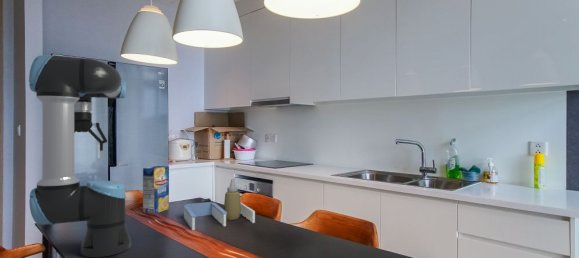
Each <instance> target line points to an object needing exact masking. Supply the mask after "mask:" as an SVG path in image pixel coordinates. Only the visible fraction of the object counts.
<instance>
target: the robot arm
mask: <svg viewBox="0 0 579 258" xmlns="http://www.w3.org/2000/svg"><path fill="white" fill-rule="evenodd" d="M28 74H29V75H28V84H29V89H30V91H31V92H34V93H36V95H35V96H36V98H37V100H39V101H40V102H41V104H42V105H41V107H42V108H41V109H42V111H41V112H42V114H41V116H42V119H41V120H42V121H41V122H42V123H41V124H42V131H41V133H42V177H41V179H40V180H39V181H38V182H37V183H36V187H34V188H32V189H31V191H30V193H29V210H30V215H31V217H32V219H33V221H34V222H35V223H36V224H37V225H43V226H44V225H52V226H54V225H56V224H57V225H58V224H68V223H77V222H86V231H85V234H84V236H83V240H82V242H81V245H80V255H81V256H83V257H87V258H102V257H109V256H114V255H117V254H121V253H125V252H126V251H128V250H129V249H130V248H131V247H132V239H131V236H130V234H129V232H128V228H127V225H126V198H127V195H126V186H125V185H124V184H123V183H122V182H119V181H113V180H102V179H101V180H100V179H99V180H88V181H87V182H86V184H85V185H80V182H81V181H80V179H79V178H77V177H76V176H75V133H76V132H77V133H89V134H90V135H91V136H92V137H93V138H94V139H95V140H96V141H97V142H98V143H97V159H101V152H103V150H104V144H106V143H108V139H107V137H106V136H105V133H104V131H102V128H101V127H100V126H101V125H100V123H99V122H93V121H92V116H93V115H92V114H93V113H92V108H93V107H92V105H93V104H92V102H93V101H92V98H97V99H98V98H101V99H118V100H119V99H125V98H126V97H127V83H126V82H125V81H122V77H121V75H120V73H119V71H118V70H117V69H116V68H114V67H113V66H112V65H110V64H109V63H106V62H104V61H101V60H98V59H93V58H89V57H88V58H87V57H86V58H85V57H75V56H64V55H55V54H54V55H52V54H51V55H44V54H43V55H38V56H36V57H35V58H34V59H33V61H32V63H31V65H30V69H29V73H28ZM93 126H94V128H96V130H97V132H98V133H99V135H100V137H101V138H102V139H101V138H100V137H99V136H98V135H97V134H96V132H94V131H93V130H92V129H91V128H92V127H93Z"/></svg>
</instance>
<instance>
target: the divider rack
mask: <svg viewBox="0 0 579 258" xmlns="http://www.w3.org/2000/svg"><path fill="white" fill-rule="evenodd" d="M240 203H241V212H240V215H241V214H242V215H241V216H243V218H245V217H246V218H245V219H247V220H250V221H249V222H250V223H252V224H255V223H256V211H255V210H253V208H251V207H249V206H248V205H245V204H244V203H243V202H241V201H240ZM182 207H183V219H184V220H185V222H186V223H187V224H188V227H189V228H190V229H191V230H192V231H196V218H197V217H203V216H213V218H214V219H216V220H217V222H219V223H220V225H222V226H223V227H226V226H227V219H226V214H227V212H226V211H225V210H224V208H222V207H221V206H220V205H218V203H216V202H212V201H211V202H205V203H197V202H195V203H194V202H193V203H186V204H185V205H182Z"/></svg>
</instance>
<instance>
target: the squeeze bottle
mask: <svg viewBox="0 0 579 258" xmlns="http://www.w3.org/2000/svg"><path fill="white" fill-rule="evenodd" d="M229 183H230V184H229V187H227V190H226V191H227V192H225V193H224V195H225V196H224V203H223V210H225V211H226V212H227V214H226V220H230V221H234V220H239V219H240V216H241V214H240V212H241V203H242V202H241V195H240V194H241V193H240V192H239V191H238V189H239V188H238V186H236V183H235V180H234V178H233V179H230V182H229ZM240 202H241V203H240Z"/></svg>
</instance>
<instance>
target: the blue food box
mask: <svg viewBox="0 0 579 258" xmlns="http://www.w3.org/2000/svg"><path fill="white" fill-rule="evenodd" d="M169 187H170V166H168V165H167V166H166V165H155V166H147V167H143V168H142V213H143V212H144V213H143V214H151V213H153V214H154V215H155V214H158V213H161V212H163V211H167V210H169V208H170V197H169V196H170V194H169V193H170V188H169Z"/></svg>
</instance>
